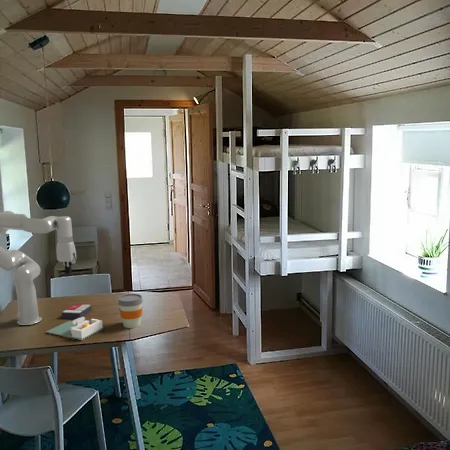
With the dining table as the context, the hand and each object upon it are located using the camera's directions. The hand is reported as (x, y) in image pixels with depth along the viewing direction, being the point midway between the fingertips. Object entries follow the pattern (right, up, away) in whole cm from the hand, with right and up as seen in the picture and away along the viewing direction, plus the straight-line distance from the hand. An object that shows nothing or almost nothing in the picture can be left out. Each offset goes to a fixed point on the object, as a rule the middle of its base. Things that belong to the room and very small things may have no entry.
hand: (68, 273), depth 257 cm
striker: (+9, -28, -11) cm, 31 cm away
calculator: (0, -25, +16) cm, 30 cm away
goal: (+14, -28, -13) cm, 34 cm away
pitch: (+6, -29, -9) cm, 31 cm away
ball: (+13, -26, -13) cm, 32 cm away
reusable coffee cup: (+34, -27, -2) cm, 44 cm away
